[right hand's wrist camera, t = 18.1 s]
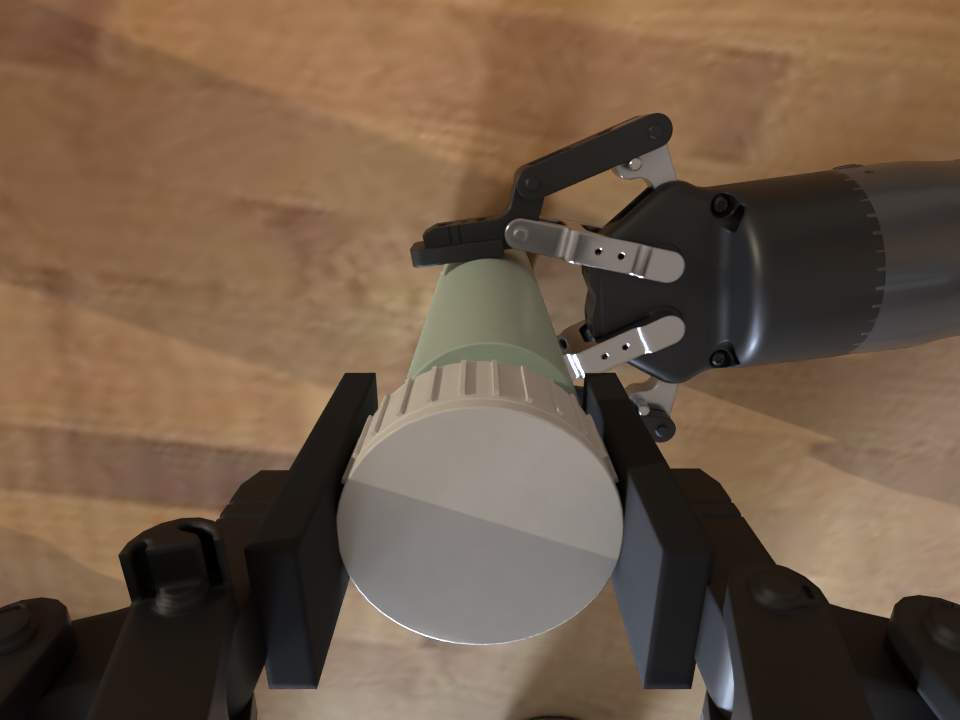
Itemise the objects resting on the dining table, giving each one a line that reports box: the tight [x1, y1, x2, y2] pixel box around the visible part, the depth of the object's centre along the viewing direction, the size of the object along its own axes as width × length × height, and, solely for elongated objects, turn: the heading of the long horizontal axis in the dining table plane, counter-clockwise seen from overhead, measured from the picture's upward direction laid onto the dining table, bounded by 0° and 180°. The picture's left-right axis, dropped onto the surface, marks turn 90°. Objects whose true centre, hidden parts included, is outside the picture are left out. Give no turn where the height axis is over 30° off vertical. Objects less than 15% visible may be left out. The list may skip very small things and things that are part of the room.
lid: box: [336, 359, 624, 645], centre depth 11 cm, size 5×5×2 cm
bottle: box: [407, 249, 581, 407], centre depth 22 cm, size 5×5×20 cm
